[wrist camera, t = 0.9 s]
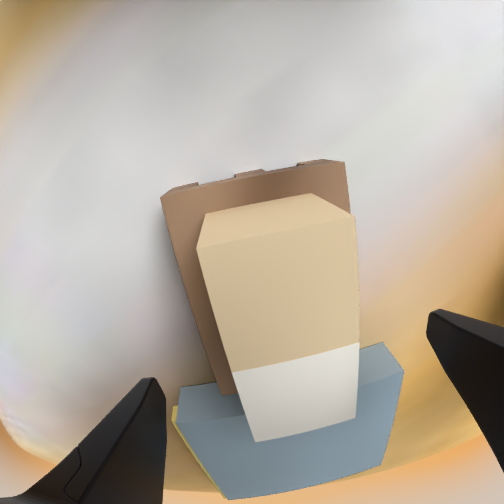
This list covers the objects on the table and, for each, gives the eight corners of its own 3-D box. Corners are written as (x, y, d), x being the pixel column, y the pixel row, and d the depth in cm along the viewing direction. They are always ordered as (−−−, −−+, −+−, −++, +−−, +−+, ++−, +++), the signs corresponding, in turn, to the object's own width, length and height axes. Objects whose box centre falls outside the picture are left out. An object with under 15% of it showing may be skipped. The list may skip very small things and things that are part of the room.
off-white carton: (322, 287, 12) (359, 342, 9) (327, 358, 14) (355, 417, 10) (228, 308, 12) (231, 372, 8) (247, 377, 14) (255, 442, 10)
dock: (382, 342, 17) (404, 370, 14) (369, 440, 21) (380, 464, 18) (175, 387, 17) (170, 423, 14) (223, 473, 21) (224, 500, 18)
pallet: (320, 159, 14) (344, 162, 11) (337, 333, 17) (355, 365, 14) (173, 187, 13) (160, 197, 11) (221, 359, 17) (222, 395, 14)
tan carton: (311, 193, 11) (354, 216, 7) (322, 287, 12) (359, 342, 9) (205, 213, 11) (196, 248, 7) (228, 308, 12) (231, 372, 9)
